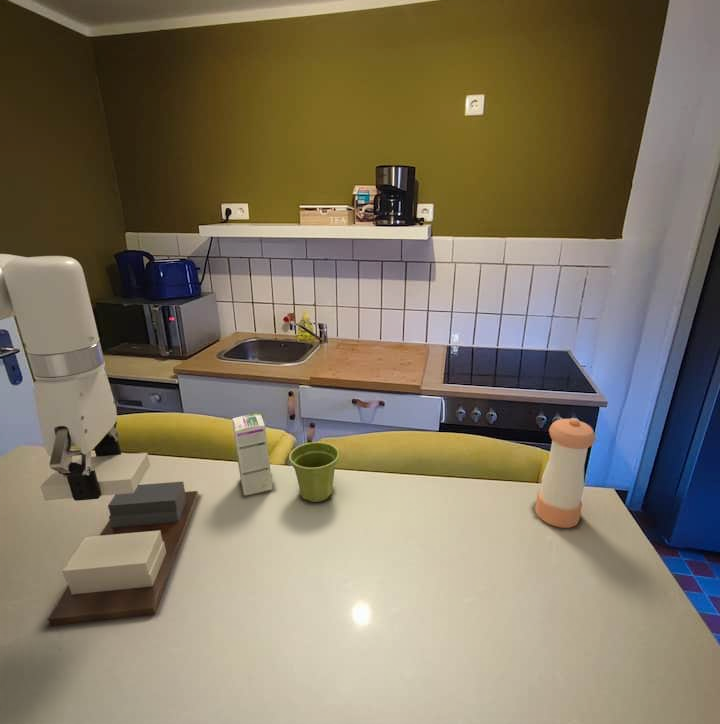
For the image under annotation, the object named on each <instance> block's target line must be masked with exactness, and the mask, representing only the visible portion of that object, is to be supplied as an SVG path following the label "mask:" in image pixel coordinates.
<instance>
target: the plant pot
mask: <svg viewBox="0 0 720 724" xmlns="http://www.w3.org/2000/svg"><path fill="white" fill-rule="evenodd" d="M339 458H340V451H339V449H338V448H337V447H336V446H335V445H334V444H331V443H327V442H322V441H312V442H306V443H302V444H300V445H298V446H296V447H294V448H293V449H292V450H291V451H290V453H289V455H288V459H289V462H290V463H291V464H292V467H293V469H294V472H295V476H296V480H297V484H298V488H299V492H300V496H301V498H302V499H304V500H308V501H309V502H311V503H317V502H322V501H325V500H327V499H328V498H329V497H330V495H332V494H333V485H334V477H335V471H336V470H335V469H336V465H337V461H338V460H339Z"/></svg>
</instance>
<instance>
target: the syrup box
mask: <svg viewBox="0 0 720 724" xmlns="http://www.w3.org/2000/svg"><path fill="white" fill-rule="evenodd" d="M231 421H232V428H233V429H232V430H233V437H234V445H235V450H236V457H237V465H238V472H239V478H240V484H241V488H242V489H241V490H242V494H243V496H250V495H255V494H260V493H264V492H269V491H272V490H273V481H272V480H273V479H272V472H271V462H270V454H269V447H268V439H267V429H266V425H265V422H264V420H263V416H262V414H261V413H252V414H245V415H240V416H236V417H232V418H231Z"/></svg>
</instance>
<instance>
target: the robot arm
mask: <svg viewBox="0 0 720 724" xmlns="http://www.w3.org/2000/svg"><path fill="white" fill-rule="evenodd" d="M13 317H15V318H16V322H17V325H18V329H19V332H20V335H21V338H22V342H23V345H24V349H25V352H26V355H27V358H28V362H29V365H30V368H31V372H32V375H33V378H34V380H35V381H34V382H33V392H34V393H33V394H34V403H35V410H36V415H37V421H38V425H39V429H40V433H41V438H42V441H43V445H44V449H45V451H46V454H47V455H48V456H49V457H50V460H49V469H51V470H53V471H54V472H55V471H58V472H59V473H60V474H63V476H64V477H67V479H68V483H69V486H70V489H71V493H72V496H73V498H72V500H74V501H76V502H79V501H90V500H91V501H92V500H98V499H100V497H102V496H101V491H100V488H99V484H98V480H97V476H96V473H95V470H93V471H91V457H92V450H94V453H95V457H96V456H109V455H122V450H121V447H120V443H119V432H118V431H117V429H116V428H117V424H118V412H117V409H118V406H117V405H116V403H115V398H114V395H113V391H112V387H111V385H110V381H109V378H108V374H107V372H106V370H105V367H106V362H105V358H104V354H103V350H102V349H103V348H102V345H101V341H100V337H99V333H98V332H99V331H98V328H97V324H96V323H97V322H96V319H95V315H94V311H93V306H92V302H91V298H90V294H89V289H88V285H87V281H86V276H85V272H84V269H83V267H82V265H81V263H80V262H79V261H78V260H77V259H75V258H73V257H71V256H66V255H65V256H64V255H42V256H29V257H27V256H21V255H15V254H7V253H0V321H2V320H5V319H9V318H13ZM72 447H76V448H79V449H73V450H72ZM75 456H81V457H80V458H81V460H82V465H81V464H78V463H76V462H73V463H72V458H73V457H75Z"/></svg>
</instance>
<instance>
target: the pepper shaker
mask: <svg viewBox="0 0 720 724" xmlns="http://www.w3.org/2000/svg"><path fill="white" fill-rule="evenodd" d="M548 433H549V436H550V439H551V446H550V451H549V457H548V460H547V463H546V466H545V467H544V471H543V474H542V476H541V485H540V488H539V490H538V492H537V493H536V494H537V495H536V501H535V506H534V507H535V508H534V509H535V513H536V515H537V517H539V519H540V520H541V521H543V522H545V523H547V524H549V525H551V526H554V527H556V528H562V529H564V528H565V529H567V528H568V529H570V528H572V527H575V526H577V524H579V522H580V518H581V517H580V516H581V513H582V508H583V502H582V495H583V492H584V488H585V465H586V459H587V455H588V448H591V447H592V446H593V445H594V443H595V442H596V434H595V431H594V429H593V428H592V426H591V425H589V424H588V423H585V422H584V421H581V420H579V419H578V418H575V417H571V418H560V419H556V420H555V421H554V422H552V424H551V425H550V426H549V428H548Z"/></svg>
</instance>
